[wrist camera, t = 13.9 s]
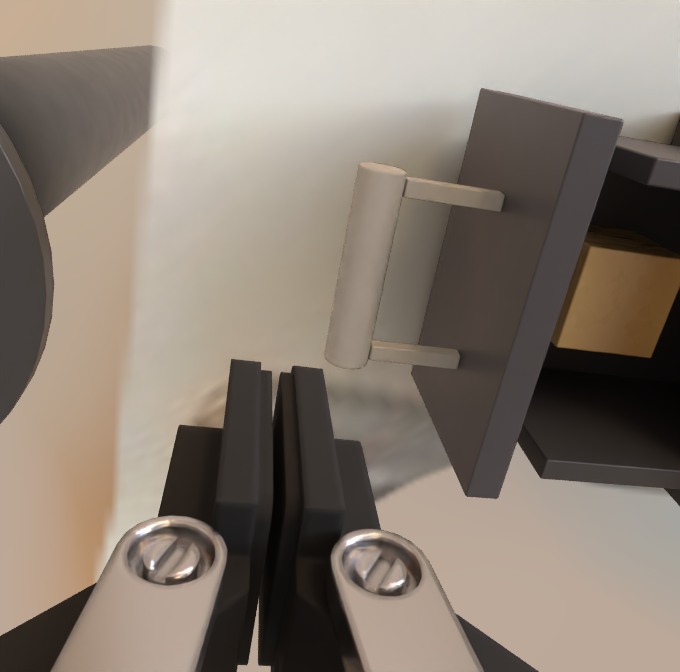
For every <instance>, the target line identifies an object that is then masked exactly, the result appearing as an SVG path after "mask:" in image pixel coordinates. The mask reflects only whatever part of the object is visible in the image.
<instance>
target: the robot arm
mask: <svg viewBox="0 0 680 672" xmlns="http://www.w3.org/2000/svg"><path fill="white" fill-rule="evenodd" d="M258 599H259V631H258V632H259V634H258V635H259V636H258V638H259V639H258V664H259V665H262V666H271V672H538V671H537V670H535V669H534V668H533V667H531V666H530V665H528V664H527V663H526V662H524V661H523V660H521V659H520V658H518V657H517V656H516V655H514V654H513V653H511V652H510V651H508V650H507V649H505V648H504V647H503V646H501V645H500V644H498V643H497V642H496V641H494V640H493V639H491V638H490V637H488V636H487V635H486V634H484V633H483V632H481V631H480V630H479V629H477V628H475V627H474V626H473V625H471V624H470V623H469V622H467V621H466V620H464V619H463V618H461V617H460V616H459V615H457V614H456V613H455V612H454V610H453V608H452V606H451V604H450V602H449V600H448V598H447V596H446V594H445V592H444V590H443V588H442V586H441V584H440V582H439V580H438V578H437V576H436V574H435V572H434V570H433V568H432V566H431V564H430V562H429V560H428V559H427V558H426V556H425V555H424V553H423V552H422V551H421V550H420V549H419V548H418V547H416V546H415V545H414V544H413V543H412V542H411V541H409V540H407V539H405V538H403V537H401V536H400V535H397V534H395V533H391V532H388V531H384V530H381V528H380V524H379V519H378V515H377V511H376V506H375V502H374V497H373V493H372V489H371V484H370V480H369V476H368V471H367V467H366V463H365V458H364V454H363V449H362V446H361V443H360V442H359V441H355V440H344V439H334V434H333V428H332V422H331V416H330V410H329V404H328V398H327V392H326V386H325V380H324V374H323V369H319V368H309V367H300V366H293V367H292V370H291V373H284V372H281V373H280V377H279V383H278V390H277V396H276V403H275V410H274V416H273V423H272V371H265V370H261V362H254V361H244V360H235V359H231V366H230V375H229V383H228V392H227V400H226V409H225V418H224V426H223V429H221V428H210V427H199V426H188V425H179V427H178V431H177V435H176V440H175V444H174V448H173V453H172V457H171V462H170V466H169V470H168V475H167V479H166V483H165V488H164V492H163V496H162V501H161V505H160V510H159V514H158V517H157V518H152V519H150V520H147V521H144V522H142V523H139V524H137V525H136V526H135V527H133V528H132V529H130V530H129V531H127V532H126V533H125V534H124V536H123V537H122V538H121V540H120V541H119V542H118V543H117V545H116V547H115V549H114V551H113V553H112V555H111V557H110V559H109V561H108V563H107V564H106V566H105V568H104V570H103V572H102V574H101V576H100V578H99V580H98V582H97V583H95V584H93V585H92V586H90V587H88V588H86V589H84V590H82V591H81V592H79V593H77V594H75V595H73V596H72V597H70V598H68V599H67V600H64V601H63V602H61V603H59V604H57V605H56V606H54V607H52V608H50V609H48V610H47V611H45V612H43V613H41V614H39V615H37V616H36V617H34V618H32V619H30V620H28V621H27V622H25V623H23V624H21V625H19V626H18V627H16V628H14V629H12V630H11V631H9V632H7V633H5V634H3V635H1V636H0V672H237V666H238V665H247V664H248V660H249V654H250V647H251V642H252V635H253V629H254V623H255V617H256V610H257V605H258Z"/></svg>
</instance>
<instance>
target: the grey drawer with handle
mask: <svg viewBox="0 0 680 672" xmlns="http://www.w3.org/2000/svg"><path fill="white" fill-rule="evenodd" d="M623 123H624V120H622V119H619V118H615V117H611V116H606V115H602V114H597V113H593V112H589V111H584V110H580V109H576V108H571V107H567V106H562V105H558V104H554V103H549V102H545V101H541V100H536V99H532V98H528V97H523V96H519V95H514V94H510V93H505V92H500V91H494V90H489V89H484V88H482V89H481V90H480V94H479V98H478V102H477V106H476V110H475V114H474V118H473V122H472V127H471V131H470V135H469V139H468V143H467V147H466V151H465V155H464V159H463V163H462V167H461V172H460V176H459V180H458V184H452V183H446V182H439V181H433V180H427V179H420V178H414V177H408V176H407V173H406V172H405V171H404V170H402V169H400V168H397V167H393V166H389V165H385V164H379V163H371V162H363V163H359V165H358V170H357V175H356V181H355V186H354V192H353V197H352V203H351V208H350V214H349V220H348V225H347V231H346V236H345V242H344V247H343V253H342V258H341V264H340V269H339V275H338V280H337V286H336V291H335V297H334V303H333V308H332V314H331V319H330V325H329V330H328V336H327V341H326V347H325V352H324V356H325V359H326V360H327V361H328V362H329V363H331V364H333V365H335V366H337V367H341V368H346V369H359V368H362V367H364V366H365V365H366V364H367V361H368V357H369V360H374V361H384V362H393V363H403V364H412V365H413V368H412V372H411V374H412V377H413V379H414V381H415V383H416V386H417V388H418V390H419V392H420V395H421V397H422V399H423V401H424V404H425V406H426V408H427V410H428V413H429V415H430V417H431V419H432V422H433V424H434V426H435V428H436V430H437V433H438V435H439V437H440V439H441V442H442V444H443V446H444V448H445V451H446V453H447V455H448V457H449V460H450V462H451V464H452V466H453V469H454V471H455V473H456V475H457V477H458V480H459V482H460V484H461V486H462V489H463V491H464V493H465V495H466V496H467V497H481V498H495V499H497V498H498V497H499V494H500V491H501V488H502V485H503V482H504V479H505V475H506V473H507V470H508V467H509V464H510V461H511V458H512V455H513V451H514V449H515V446H516V443H517V442H518V443H519V445H520V447H521V448H522V450H523V451H524V453H525V454H526V456H527V458H528V459H529V460H530V462H531V464H532V465H533V467H534V469H535V470H536V472H537V473H538V475H539V476H540V478H543V479H555V480H568V481H581V482H594V483H607V484H619V485H632V486H645V487H658V488H671V489H680V288H679V290H678V293H677V295H676V297H675V300H674V302H673V305H672V307H671V310H670V312H669V315H668V317H667V320H666V322H665V324H664V327H663V329H662V332H661V334H660V337H659V339H658V342H657V344H656V347H655V349H654V351H653V354H652V356H651V358H646V357H637V356H629V355H620V354H611V353H603V352H594V351H586V350H577V349H568V348H560V347H556V346H555V345H554V344H553V343H552V342H551V338H552V335H553V332H554V329H555V326H556V323H557V320H558V317H559V314H560V311H561V308H562V305H563V302H564V299H565V296H566V293H567V290H568V287H569V284H570V281H571V278H572V275H573V272H574V269H575V266H576V263H577V260H578V257H579V254H580V251H581V248H582V245H583V242H584V239H585V236H586V233H587V230H588V227H589V224H590V225H597V226H604V227H610V228H617V229H623V230H630V231H634V232H636V233H638V234H640V235H642V236H644V237H646V238H647V239H649V240H651V241H653V242H655V243H657V244H659V245H661V246H663V247H665V248H667V249H669V250H670V251H672V252H674V253H676V254H678V255H680V147H678V146H673V145H667V144H662V143H656V142H651V141H645V140H639V139H634V138H628V137H623V136H619V135H620V132H621V129H622V126H623ZM402 195H403V197H405V198H412V199H418V200H425V201H431V202H438V203H444V204H451V205H452V208H451V213H450V217H449V221H448V225H447V229H446V233H445V237H444V241H443V245H442V249H441V254H440V258H439V262H438V266H437V270H436V274H435V278H434V282H433V286H432V290H431V294H430V299H429V303H428V307H427V311H426V315H425V319H424V323H423V327H422V331H421V335H420V340H419V344H418V345H413V344H404V343H395V342H386V341H377V340H372V337H373V332H374V328H375V323H376V318H377V313H378V309H379V304H380V299H381V294H382V290H383V285H384V280H385V276H386V271H387V266H388V261H389V257H390V252H391V247H392V242H393V238H394V233H395V228H396V224H397V219H398V214H399V209H400V205H401V200H402Z"/></svg>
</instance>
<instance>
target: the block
mask: <svg viewBox="0 0 680 672" xmlns="http://www.w3.org/2000/svg"><path fill="white" fill-rule="evenodd" d="M679 288H680V255H678V254H676V253H674V252H672V251H670V250H669V249H667V248H665V247H663V246H661V245H659V244H657V243H655V242H653V241H651V240H649V239H647V238H646V237H644V236H642V235H640V234H638V233H636V232H634V231H630V230H623V229H617V228H610V227H604V226H597V225H590V224H589V227H588V230H587V233H586V236H585V239H584V242H583V245H582V248H581V251H580V254H579V257H578V260H577V263H576V266H575V269H574V272H573V275H572V278H571V281H570V284H569V287H568V290H567V293H566V296H565V299H564V302H563V305H562V308H561V311H560V314H559V317H558V320H557V323H556V326H555V329H554V332H553V335H552V338H551V342H552V343H553V344H554V345H555V346H556V347H560V348H568V349H577V350H586V351H594V352H603V353H611V354H620V355H629V356H637V357H646V358H651V356H652V354H653V351H654V349H655V347H656V344H657V342H658V339H659V337H660V334H661V332H662V329H663V327H664V324H665V322H666V320H667V317H668V315H669V312H670V310H671V307H672V305H673V302H674V300H675V297H676V295H677V293H678V290H679Z"/></svg>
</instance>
